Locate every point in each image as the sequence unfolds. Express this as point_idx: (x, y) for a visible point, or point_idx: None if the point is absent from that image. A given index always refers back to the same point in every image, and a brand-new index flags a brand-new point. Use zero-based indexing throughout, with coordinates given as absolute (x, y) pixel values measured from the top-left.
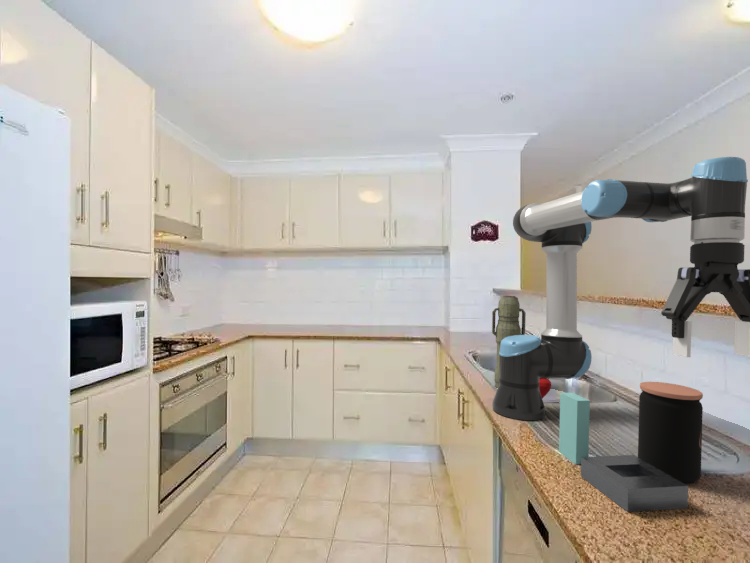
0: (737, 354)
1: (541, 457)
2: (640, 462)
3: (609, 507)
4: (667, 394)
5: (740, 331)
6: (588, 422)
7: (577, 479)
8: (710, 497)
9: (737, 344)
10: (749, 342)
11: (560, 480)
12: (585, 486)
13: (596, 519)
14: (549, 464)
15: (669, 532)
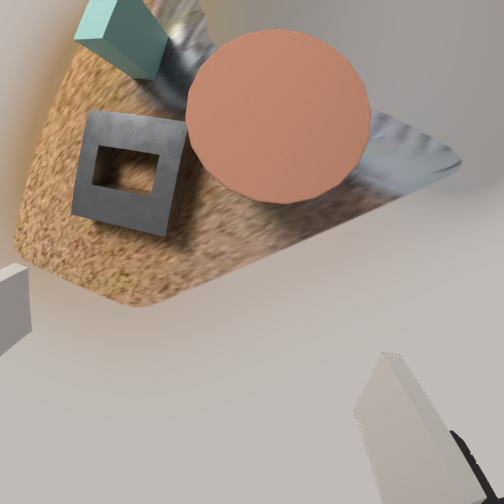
0: (374, 368)
1: None
2: (169, 150)
3: None
4: (195, 152)
5: (413, 472)
6: (123, 55)
7: None
8: (247, 222)
9: (394, 399)
10: (372, 459)
11: (70, 120)
12: None
13: (46, 210)
14: (93, 73)
15: (99, 256)
